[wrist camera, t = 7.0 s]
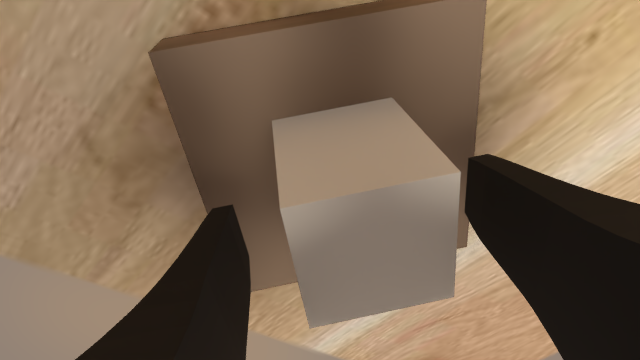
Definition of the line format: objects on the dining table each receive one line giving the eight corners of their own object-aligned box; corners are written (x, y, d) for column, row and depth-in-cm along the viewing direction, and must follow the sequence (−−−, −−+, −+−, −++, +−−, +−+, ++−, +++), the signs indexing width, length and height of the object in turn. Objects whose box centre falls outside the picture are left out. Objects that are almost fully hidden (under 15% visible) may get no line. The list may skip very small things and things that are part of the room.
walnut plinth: (239, 261, 18) (237, 294, 16) (162, 38, 13) (148, 52, 11) (447, 219, 18) (466, 246, 17) (457, -13, 13) (487, -8, 11)
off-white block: (294, 217, 15) (309, 328, 10) (271, 120, 12) (280, 208, 8) (396, 197, 15) (453, 296, 10) (391, 97, 13) (461, 172, 8)
